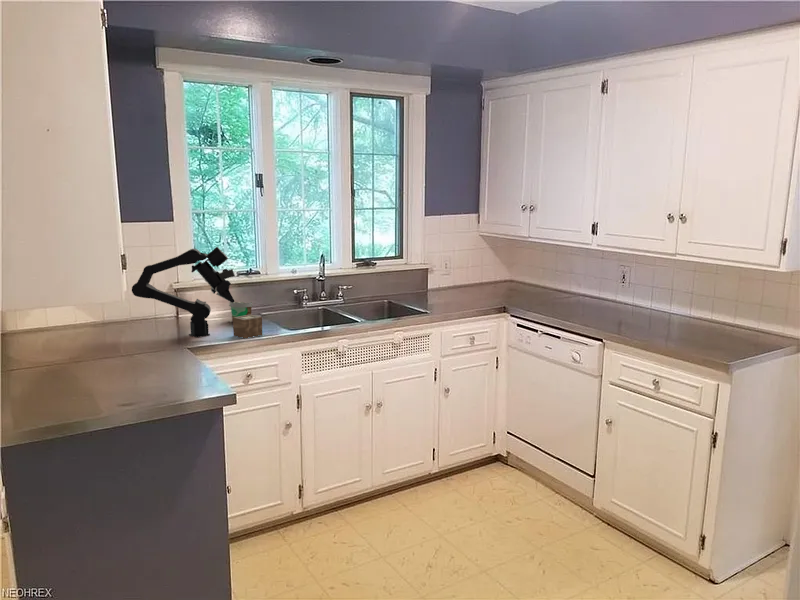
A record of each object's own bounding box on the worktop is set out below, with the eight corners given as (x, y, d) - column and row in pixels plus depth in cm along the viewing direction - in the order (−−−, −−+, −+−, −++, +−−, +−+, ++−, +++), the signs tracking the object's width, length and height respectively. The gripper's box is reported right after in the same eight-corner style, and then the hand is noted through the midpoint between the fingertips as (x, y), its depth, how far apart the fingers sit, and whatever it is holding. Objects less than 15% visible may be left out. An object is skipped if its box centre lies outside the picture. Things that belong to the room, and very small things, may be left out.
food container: (224, 322, 289) (223, 301, 287) (233, 320, 294) (232, 299, 292) (244, 325, 283) (243, 304, 281) (253, 323, 288) (252, 302, 287)
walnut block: (244, 338, 257) (244, 320, 256) (233, 335, 262) (232, 317, 261) (262, 335, 264) (261, 316, 262) (251, 332, 269) (250, 314, 267)
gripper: (227, 260, 252) (252, 289, 257) (220, 263, 269) (244, 290, 274) (205, 277, 249) (231, 307, 253) (200, 279, 266) (224, 306, 270)
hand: (233, 302), depth 263 cm, fingers closed
